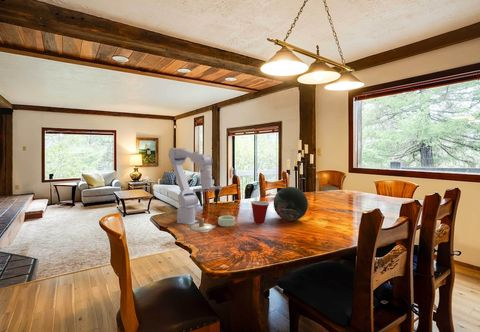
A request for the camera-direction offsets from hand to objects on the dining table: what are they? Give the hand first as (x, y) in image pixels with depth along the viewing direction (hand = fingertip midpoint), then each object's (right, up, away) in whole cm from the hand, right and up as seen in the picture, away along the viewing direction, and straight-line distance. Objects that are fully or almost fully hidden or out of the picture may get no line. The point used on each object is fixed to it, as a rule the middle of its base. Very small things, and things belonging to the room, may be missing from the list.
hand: (209, 205), depth 136 cm
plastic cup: (+27, -12, +15) cm, 34 cm away
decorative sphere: (+46, -12, +21) cm, 52 cm away
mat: (-4, -13, +2) cm, 13 cm away
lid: (-4, -12, +2) cm, 13 cm away
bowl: (+9, -12, +10) cm, 18 cm away
